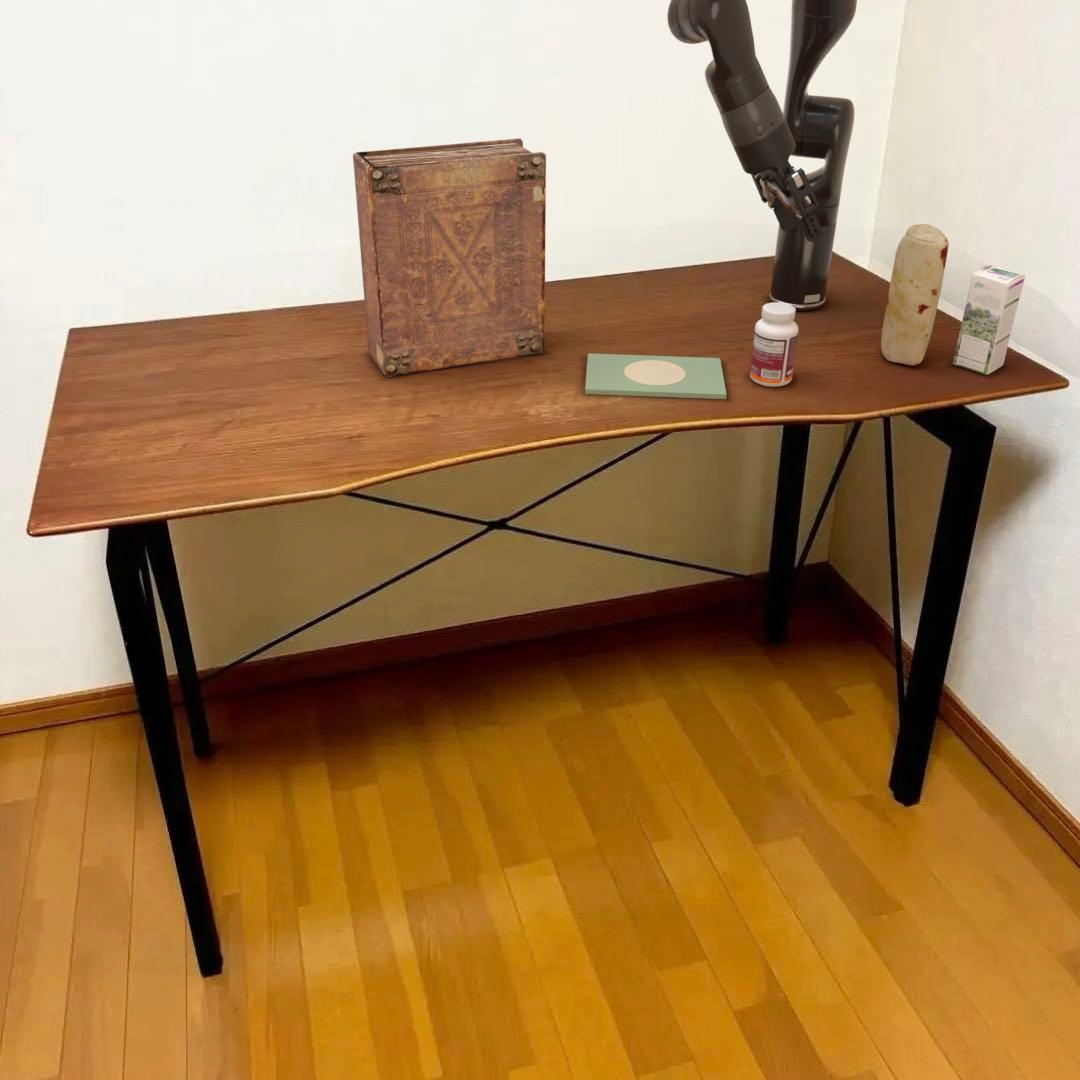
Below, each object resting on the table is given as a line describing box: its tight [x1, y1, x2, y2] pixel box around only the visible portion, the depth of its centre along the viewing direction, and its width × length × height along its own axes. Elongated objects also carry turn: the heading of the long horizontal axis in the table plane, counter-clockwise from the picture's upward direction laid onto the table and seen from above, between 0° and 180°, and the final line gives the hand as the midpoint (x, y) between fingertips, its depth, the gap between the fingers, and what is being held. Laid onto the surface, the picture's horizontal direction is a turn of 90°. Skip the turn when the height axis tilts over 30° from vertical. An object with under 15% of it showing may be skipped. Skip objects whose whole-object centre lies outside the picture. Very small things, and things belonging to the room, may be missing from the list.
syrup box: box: [952, 264, 1026, 376], centre depth 165 cm, size 6×6×14 cm
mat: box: [584, 353, 728, 400], centre depth 164 cm, size 13×20×1 cm, turn 86°
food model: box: [880, 223, 950, 366], centre depth 166 cm, size 10×7×20 cm
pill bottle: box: [749, 302, 799, 388], centre depth 161 cm, size 6×6×11 cm
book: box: [352, 137, 547, 378], centre depth 163 cm, size 25×9×30 cm, turn 112°
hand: (802, 233), depth 157 cm, fingers open, 8 cm apart
